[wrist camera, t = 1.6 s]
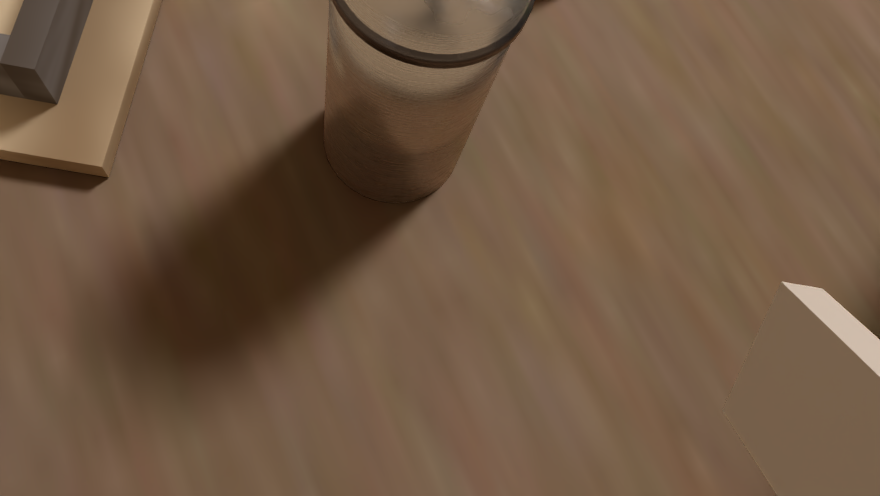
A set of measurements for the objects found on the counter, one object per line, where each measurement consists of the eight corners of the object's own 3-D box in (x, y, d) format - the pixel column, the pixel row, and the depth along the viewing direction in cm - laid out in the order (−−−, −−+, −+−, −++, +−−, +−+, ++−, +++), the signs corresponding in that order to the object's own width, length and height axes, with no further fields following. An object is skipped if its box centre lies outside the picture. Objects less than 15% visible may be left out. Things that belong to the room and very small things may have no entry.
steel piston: (469, 92, 33) (552, -116, 21) (454, 217, 30) (539, 59, 19) (332, 65, 32) (346, -165, 21) (308, 192, 30) (308, 11, 18)
